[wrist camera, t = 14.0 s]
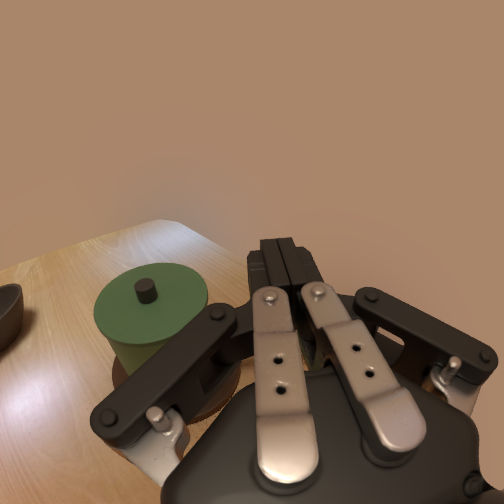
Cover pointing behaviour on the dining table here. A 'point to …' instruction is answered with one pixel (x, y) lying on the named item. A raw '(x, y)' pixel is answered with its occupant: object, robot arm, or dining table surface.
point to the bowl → (10, 313)
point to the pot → (148, 309)
